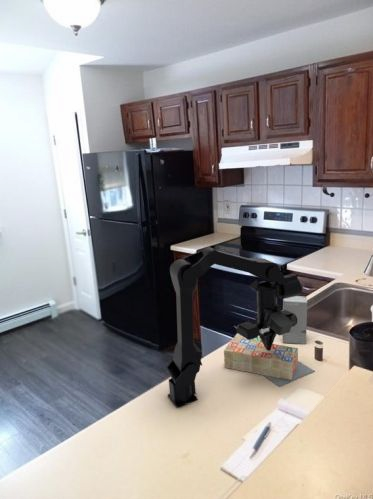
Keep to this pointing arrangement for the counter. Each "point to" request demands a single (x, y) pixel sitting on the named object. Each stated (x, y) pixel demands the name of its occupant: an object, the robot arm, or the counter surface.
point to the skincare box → (300, 310)
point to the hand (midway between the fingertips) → (268, 350)
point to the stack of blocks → (261, 357)
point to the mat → (299, 372)
